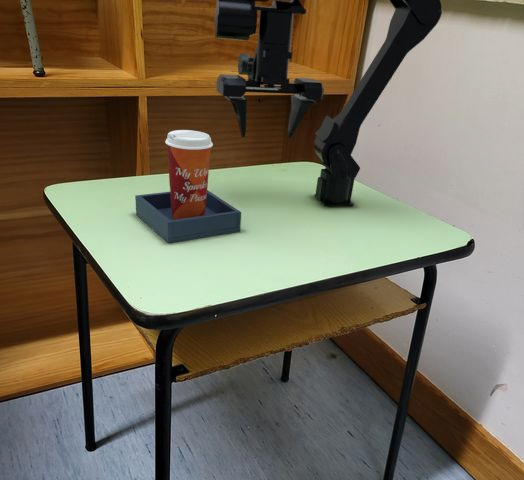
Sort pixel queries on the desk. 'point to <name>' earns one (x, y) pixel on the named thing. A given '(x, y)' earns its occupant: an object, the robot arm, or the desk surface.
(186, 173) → the paper cup
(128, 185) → the desk surface
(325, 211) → the desk surface
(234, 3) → the robot arm
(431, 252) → the desk surface
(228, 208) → the open square box
